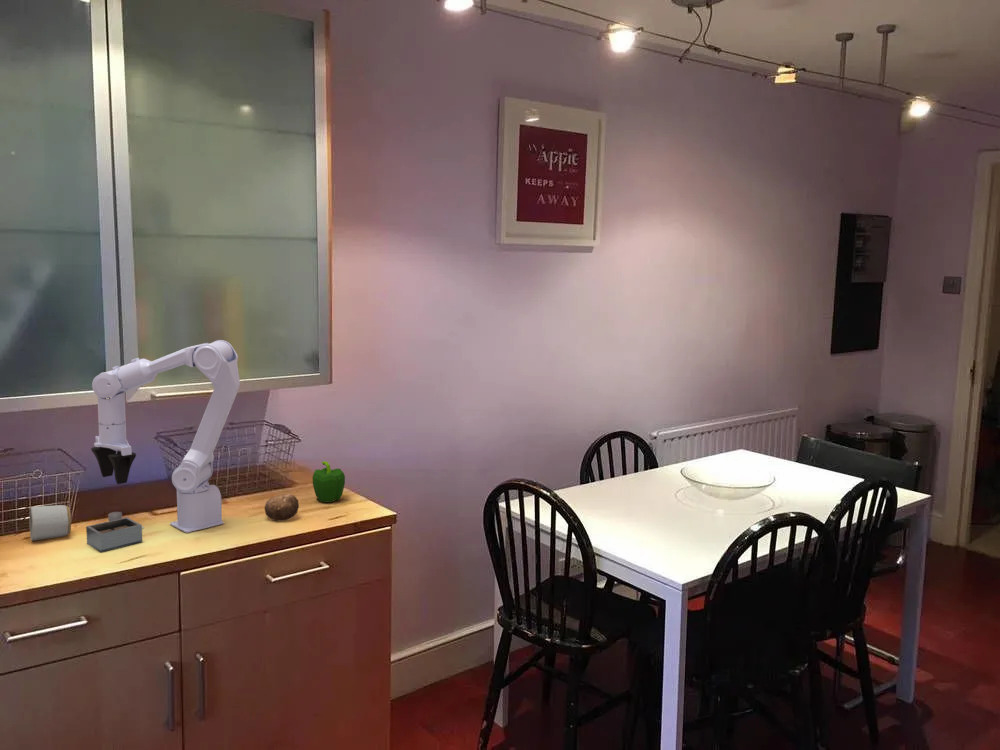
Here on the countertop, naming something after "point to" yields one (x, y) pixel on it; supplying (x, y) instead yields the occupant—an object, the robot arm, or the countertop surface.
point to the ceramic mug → (49, 522)
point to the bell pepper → (328, 483)
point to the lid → (116, 516)
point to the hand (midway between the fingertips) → (114, 479)
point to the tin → (114, 534)
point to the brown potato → (282, 507)
